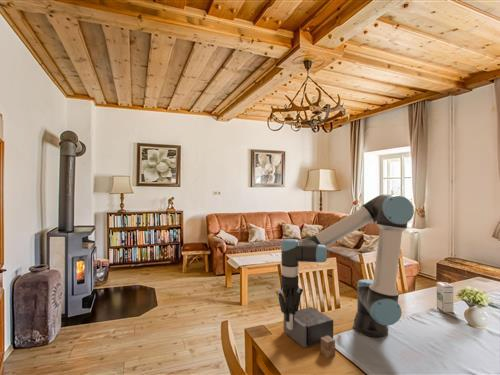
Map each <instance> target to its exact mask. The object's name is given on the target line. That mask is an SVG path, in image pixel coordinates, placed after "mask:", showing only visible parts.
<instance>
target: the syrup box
mask: <svg viewBox="0 0 500 375" xmlns="http://www.w3.org/2000/svg"><path fill="white" fill-rule="evenodd" d="M436 308H437V309H438V310H440V311H441V312H443V313H454V308H455V307H454V285H452V284H450V283H448V282H446V281H437V282H436Z"/></svg>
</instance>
